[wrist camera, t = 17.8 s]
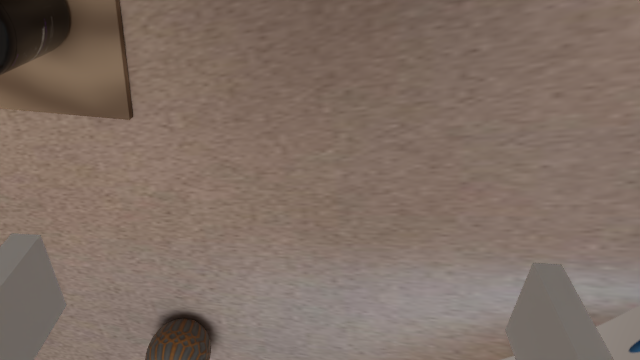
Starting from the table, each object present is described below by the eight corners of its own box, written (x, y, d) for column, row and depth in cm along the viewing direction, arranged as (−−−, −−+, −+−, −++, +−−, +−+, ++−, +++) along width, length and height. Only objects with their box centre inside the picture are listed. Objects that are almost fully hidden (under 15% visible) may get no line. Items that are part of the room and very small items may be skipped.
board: (-88, -133, 35) (-97, -134, 34) (105, -115, 35) (101, -115, 34) (-22, 103, 43) (-27, 106, 43) (133, 116, 44) (129, 119, 43)
